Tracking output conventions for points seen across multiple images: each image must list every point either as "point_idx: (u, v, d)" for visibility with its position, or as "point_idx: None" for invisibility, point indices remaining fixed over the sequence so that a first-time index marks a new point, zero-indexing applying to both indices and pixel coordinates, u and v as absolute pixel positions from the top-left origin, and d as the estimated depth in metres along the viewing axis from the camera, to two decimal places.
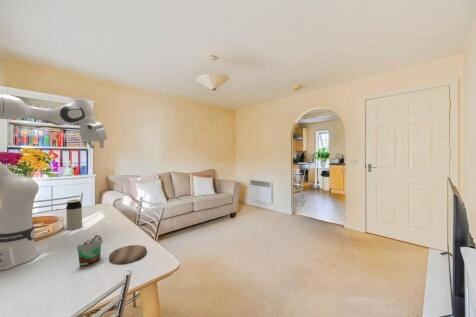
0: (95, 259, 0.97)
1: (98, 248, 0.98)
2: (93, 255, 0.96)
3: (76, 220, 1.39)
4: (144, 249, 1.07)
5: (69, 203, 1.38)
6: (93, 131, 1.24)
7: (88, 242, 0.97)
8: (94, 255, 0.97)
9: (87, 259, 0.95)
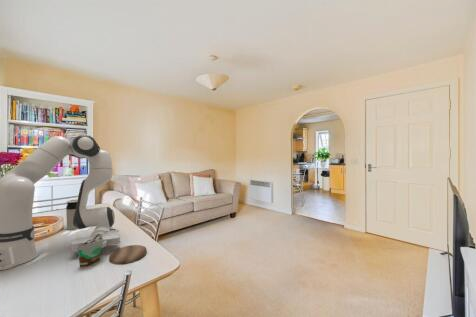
0: (95, 259, 0.97)
1: (98, 248, 0.98)
2: (93, 255, 0.96)
3: None
4: (144, 249, 1.07)
5: (69, 203, 1.38)
6: (111, 234, 1.11)
7: (89, 242, 0.97)
8: (94, 255, 0.97)
9: (87, 259, 0.95)
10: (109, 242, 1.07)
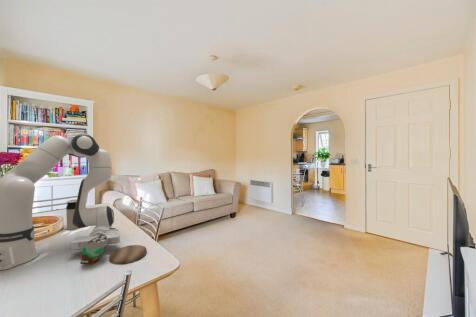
0: (96, 259, 0.97)
1: (102, 248, 0.99)
2: (96, 255, 0.96)
3: None
4: (144, 249, 1.07)
5: (69, 203, 1.38)
6: (110, 233, 1.11)
7: (94, 240, 0.98)
8: (96, 255, 0.97)
9: (89, 258, 0.95)
10: (109, 241, 1.07)
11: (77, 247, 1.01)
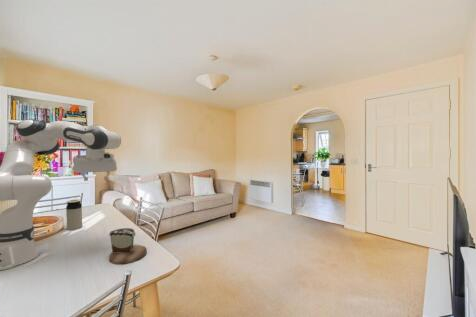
0: None
1: None
2: None
3: (76, 220, 1.39)
4: (144, 249, 1.07)
5: (69, 203, 1.38)
6: (106, 161, 1.20)
7: (125, 232, 1.04)
8: None
9: None
10: None
11: None
